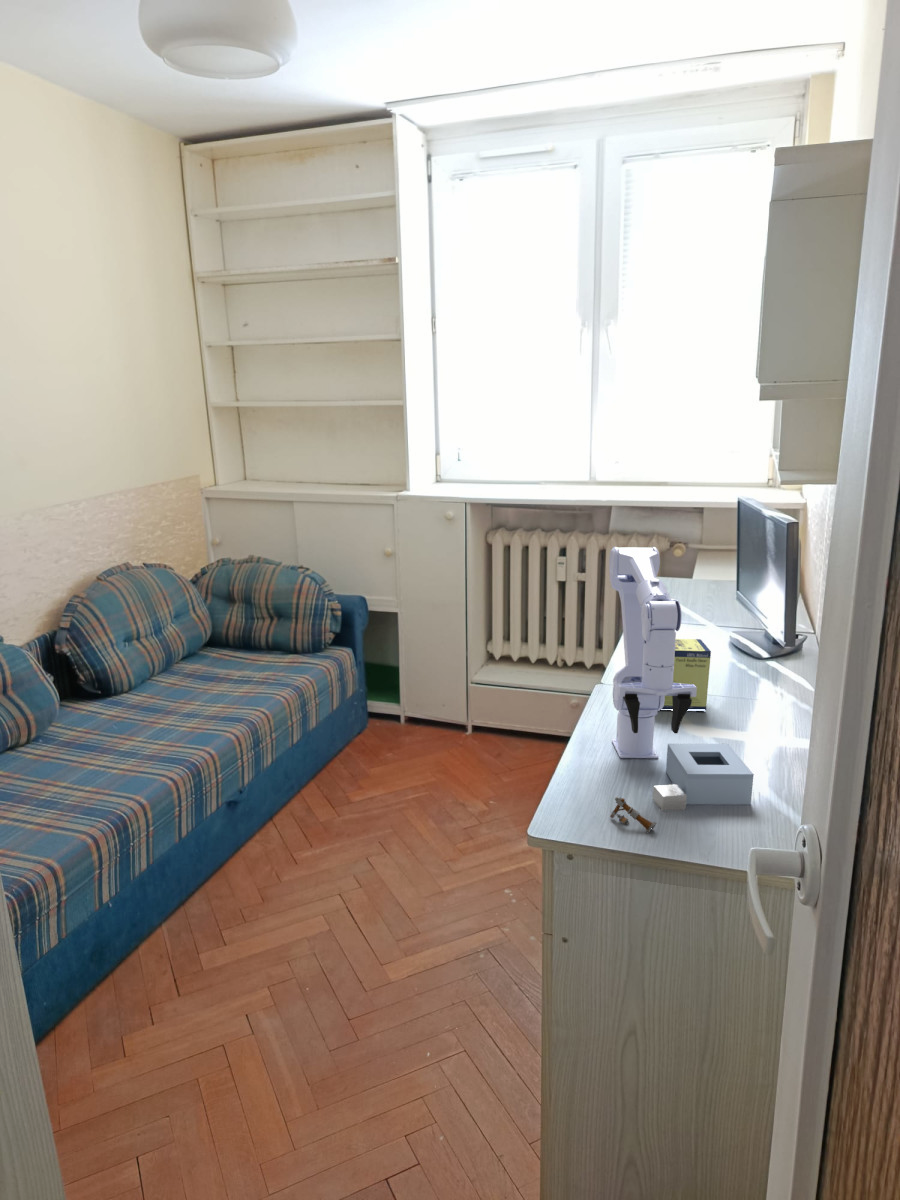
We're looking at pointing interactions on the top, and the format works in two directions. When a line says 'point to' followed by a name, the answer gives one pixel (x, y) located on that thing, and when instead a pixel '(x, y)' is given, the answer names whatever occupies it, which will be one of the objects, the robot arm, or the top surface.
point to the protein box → (691, 670)
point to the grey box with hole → (709, 774)
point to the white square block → (669, 797)
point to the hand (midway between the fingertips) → (654, 731)
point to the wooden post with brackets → (633, 813)
